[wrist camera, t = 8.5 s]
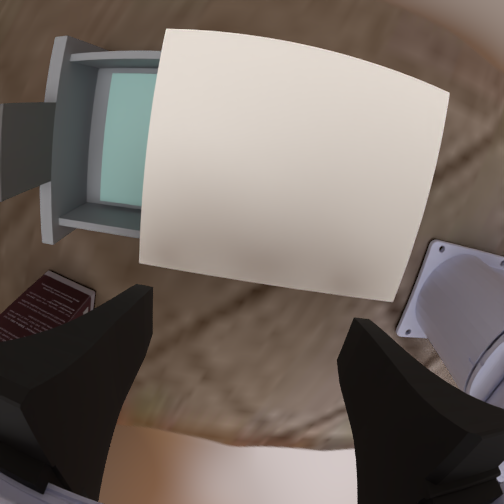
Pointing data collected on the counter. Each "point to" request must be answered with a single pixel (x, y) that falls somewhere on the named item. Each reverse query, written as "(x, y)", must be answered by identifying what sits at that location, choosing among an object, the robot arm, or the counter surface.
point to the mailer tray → (83, 140)
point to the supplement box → (45, 307)
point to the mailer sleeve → (286, 164)
